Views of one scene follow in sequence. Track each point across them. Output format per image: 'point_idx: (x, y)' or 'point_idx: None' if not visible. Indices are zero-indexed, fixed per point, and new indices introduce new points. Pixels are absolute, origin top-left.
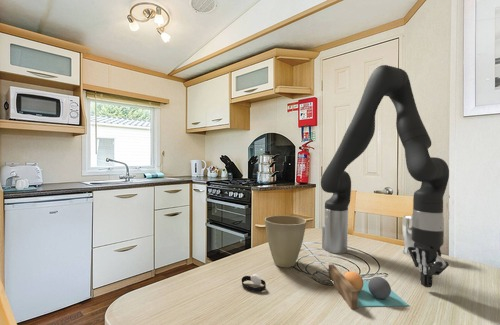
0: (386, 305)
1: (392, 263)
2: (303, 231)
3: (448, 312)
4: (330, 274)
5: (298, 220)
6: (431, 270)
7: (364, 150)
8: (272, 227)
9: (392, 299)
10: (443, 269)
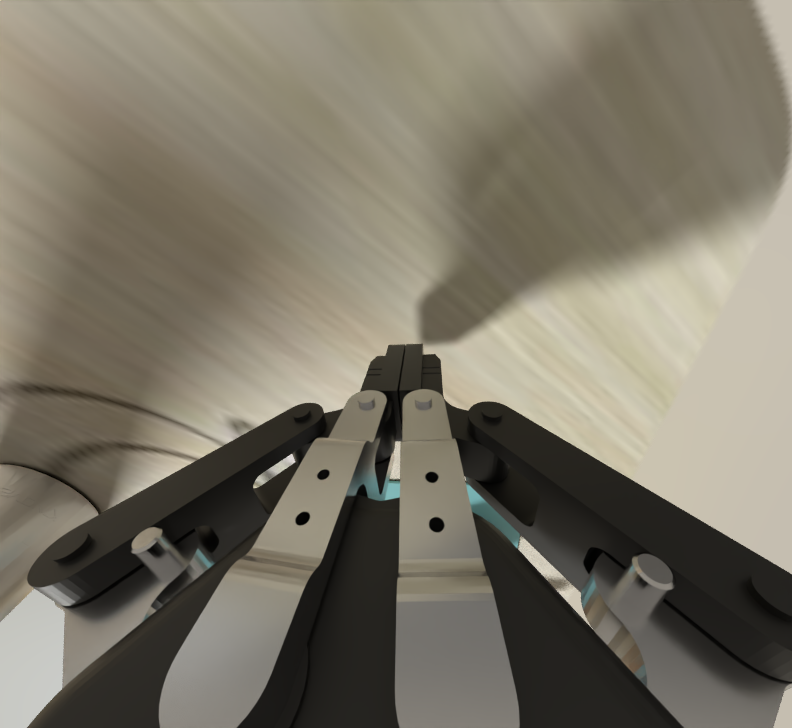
0: (518, 539)
1: (57, 323)
2: None
3: (616, 375)
4: None
5: None
6: (520, 509)
7: None
8: None
9: (483, 511)
10: (631, 495)
